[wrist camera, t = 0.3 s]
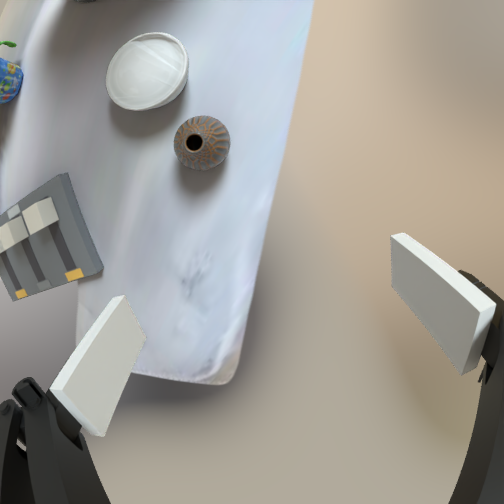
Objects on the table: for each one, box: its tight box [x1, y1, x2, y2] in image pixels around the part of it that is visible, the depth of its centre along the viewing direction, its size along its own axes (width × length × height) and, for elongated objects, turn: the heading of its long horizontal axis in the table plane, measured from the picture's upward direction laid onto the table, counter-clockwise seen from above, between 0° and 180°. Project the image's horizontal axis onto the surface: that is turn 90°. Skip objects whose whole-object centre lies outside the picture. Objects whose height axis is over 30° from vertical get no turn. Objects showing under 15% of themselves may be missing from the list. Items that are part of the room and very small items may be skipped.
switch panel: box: [0, 173, 104, 301], centre depth 40 cm, size 17×28×2 cm, turn 106°
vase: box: [174, 116, 230, 170], centre depth 32 cm, size 7×7×9 cm
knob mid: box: [0, 216, 29, 250], centre depth 35 cm, size 4×4×4 cm
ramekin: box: [106, 32, 189, 111], centre depth 30 cm, size 11×11×5 cm
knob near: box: [22, 197, 59, 235], centre depth 34 cm, size 4×4×4 cm
